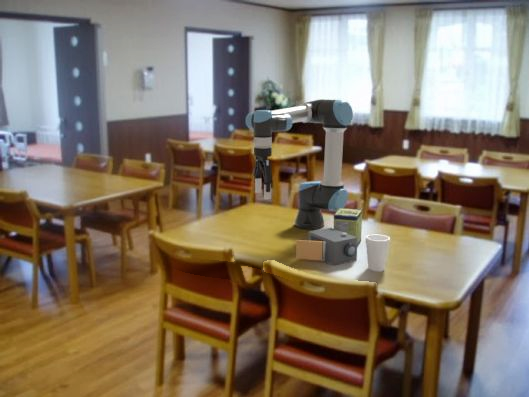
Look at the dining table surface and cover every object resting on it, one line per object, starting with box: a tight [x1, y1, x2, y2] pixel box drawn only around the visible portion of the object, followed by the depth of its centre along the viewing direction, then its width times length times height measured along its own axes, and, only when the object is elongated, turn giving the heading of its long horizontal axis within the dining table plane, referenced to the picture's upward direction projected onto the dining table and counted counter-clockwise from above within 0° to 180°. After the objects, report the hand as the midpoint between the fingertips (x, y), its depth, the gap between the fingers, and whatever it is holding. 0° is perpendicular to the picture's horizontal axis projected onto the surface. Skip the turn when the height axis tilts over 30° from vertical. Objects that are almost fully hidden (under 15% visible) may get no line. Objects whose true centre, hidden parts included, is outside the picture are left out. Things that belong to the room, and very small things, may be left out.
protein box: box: [333, 207, 363, 248], centre depth 246 cm, size 10×16×16 cm
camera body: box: [307, 227, 358, 266], centre depth 229 cm, size 12×20×11 cm, turn 32°
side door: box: [295, 239, 326, 262], centre depth 224 cm, size 1×12×8 cm, turn 77°
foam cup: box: [365, 233, 391, 272], centre depth 215 cm, size 10×9×13 cm
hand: (262, 196), depth 233 cm, fingers open, 13 cm apart
